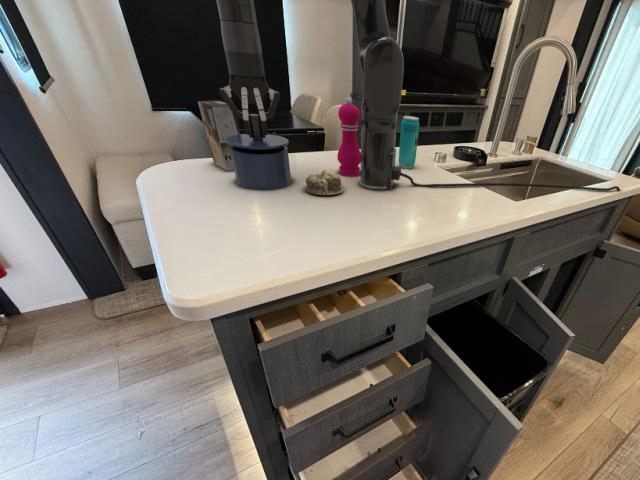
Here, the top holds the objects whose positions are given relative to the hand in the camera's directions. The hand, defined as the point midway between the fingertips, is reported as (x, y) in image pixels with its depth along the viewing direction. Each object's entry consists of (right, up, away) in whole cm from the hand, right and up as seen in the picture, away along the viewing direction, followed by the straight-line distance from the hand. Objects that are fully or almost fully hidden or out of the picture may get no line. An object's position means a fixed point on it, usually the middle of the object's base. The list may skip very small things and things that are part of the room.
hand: (257, 136), depth 80 cm
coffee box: (-15, -1, +15) cm, 21 cm away
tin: (-1, -9, +7) cm, 11 cm away
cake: (+16, -12, +5) cm, 20 cm away
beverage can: (+38, +5, +30) cm, 49 cm away
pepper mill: (+20, -2, +19) cm, 28 cm away
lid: (0, -1, +1) cm, 1 cm away
